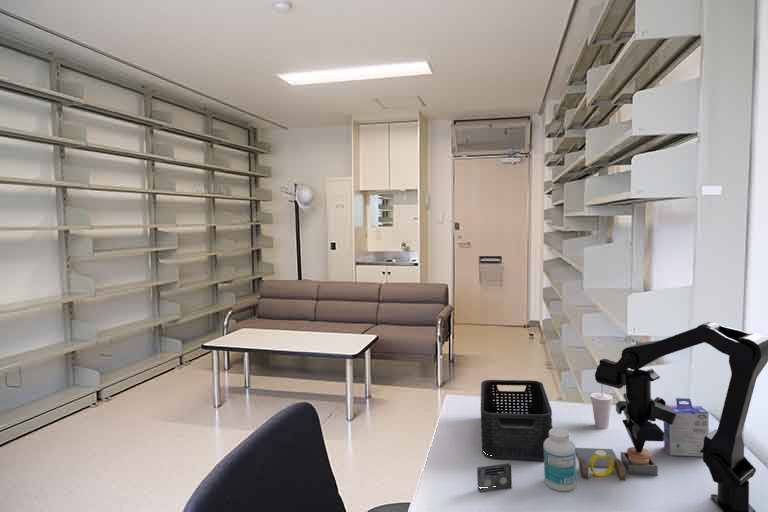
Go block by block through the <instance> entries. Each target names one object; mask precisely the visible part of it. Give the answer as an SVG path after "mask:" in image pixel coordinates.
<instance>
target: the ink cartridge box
mask: <svg viewBox="0 0 768 512" xmlns="http://www.w3.org/2000/svg"><path fill="white" fill-rule="evenodd" d="M675 400H676V405H668V406H669V407H671V408H672V409H673V410H674V411H675V412H676V413H677V415H676V417H675V420H674V422H673V425H670V424H668V423H667V422H664V421H663V432H664V441H663V447H664V448H663V449H665V450H666V452H667V455H670V456H680V457H681V456H685V457H702V458H703V453H701V452H700V451H701V450H702V449H703V446H704V437H705V436H706V435H708V434H709V433H710V432H709V430H710V429H709V428H710V427H709V421H710V420H709V418H710V417H709V416H710V415H709V412H708V411H707V410H706V409H705V408H704V407H703V406H701V405H692V399H691V398H686V397H685V398H682V397H681V398H680V397H679V398H677V397H676V398H675ZM680 402H686V403H687V404H686V403H680Z"/></svg>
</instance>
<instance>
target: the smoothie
mask: <svg viewBox="0 0 768 512" xmlns="http://www.w3.org/2000/svg"><path fill="white" fill-rule="evenodd" d="M600 389H601V392H592V393H591V394H590V395H589V396H590V397H589V399H590V400H591V404H592V405H591V406H592V411H593V412H592V413H593V420H594V425H595V428H597V429H602V430H606V429H608V428H609V425H610V417H611V410H612V409H611V408H612V402H613V399H614V398H613V395H611V394H609V393H605V392H604V391H605V390H604V385H603V384H601V388H600Z"/></svg>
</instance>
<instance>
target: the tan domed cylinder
mask: <svg viewBox="0 0 768 512" xmlns="http://www.w3.org/2000/svg"><path fill="white" fill-rule="evenodd" d="M626 452H627V453H628V461H629V463H630V464H644V465H649V457H650V456H651V453H650V451H649V450H648V449H646V448H644V447H643V449H642V452H641V453H639V452H637V451H636V450H635V447H634V446H631V447H628V448H627V450H626Z"/></svg>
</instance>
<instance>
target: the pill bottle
mask: <svg viewBox="0 0 768 512" xmlns="http://www.w3.org/2000/svg"><path fill="white" fill-rule="evenodd" d="M543 447H544V460H543V467H544V468H543V469H544V471H543V472H544V475H543V476H544V482H545V484H546V486H547V487H549V488H550V489H552V490H554V491H558V492H569V491H572V490H574V489H575V488H576V486H577V466H576V465H577V464H576V463H577V461H576V458H577V457H576V451H575V448H576V445H575V443H574V442H573V441H572V440H571V439H570V433H569V431H568V430H566V429H563V428H561V427H557V428H555V427H554V428H552V429H551V430H549V438H547V439H546V440H545V441H544V445H543Z"/></svg>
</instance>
